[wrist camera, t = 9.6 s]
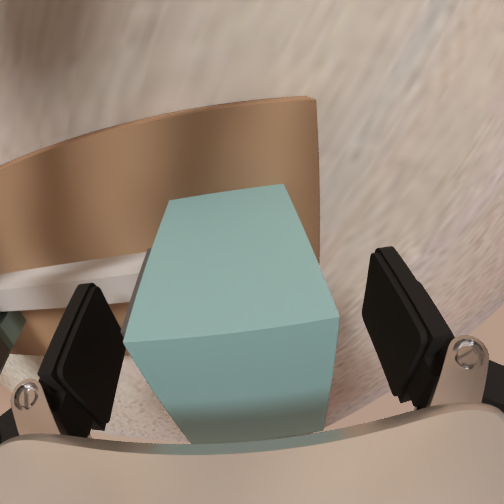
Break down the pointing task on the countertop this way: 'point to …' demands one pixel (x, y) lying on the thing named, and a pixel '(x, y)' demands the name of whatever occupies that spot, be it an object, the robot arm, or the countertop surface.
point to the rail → (135, 201)
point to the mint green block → (234, 319)
